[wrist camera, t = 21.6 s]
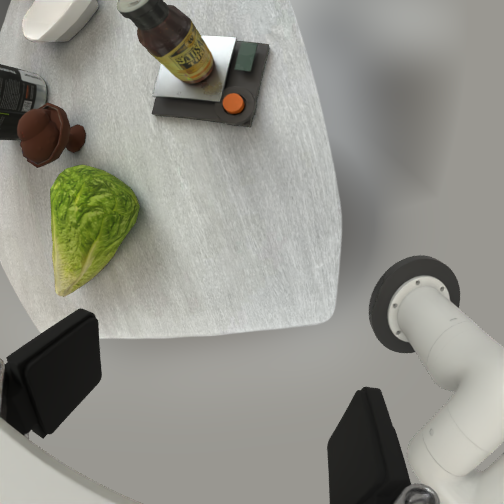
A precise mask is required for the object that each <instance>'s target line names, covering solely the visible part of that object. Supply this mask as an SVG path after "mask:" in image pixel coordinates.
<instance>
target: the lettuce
mask: <svg viewBox="0 0 504 504" xmlns="http://www.w3.org/2000/svg"><path fill="white" fill-rule="evenodd" d="M50 199H51V230H52V241H53V252H52V259H53V267H54V276H55V292H56V293H57V294H58V295H60V296H63V297H64V296H66V295H68V294H70V293H72V292H74V291H75V290H77V289H78V288H80V287H81V286H83V285H84V284H86V283H87V282H89V281H90V280H91V279H92V278H94V277H95V276H96V275H97V274H98V273H99V272H100V271H101V270H102V269H103V268H104V267H105V266H106V265H107V263H108V262H109V261H110V260H111V259H112V258H113V256H114V255H115V253H116V251H117V249H118V247H119V245H120V244H121V243H122V241H123V240H124V238H125V237H126V235H127V234H128V232H129V231H130V230H131V228H132V227H133V226H134V224H135V223H136V220H137V216H138V212H139V208H140V205H139V203H138V200H137V197H136V196H135V194H134V192H133V191H132V189H131V188H130V187H129V186H127V185H126V184H125V183H124V182H122V181H121V180H119V179H118V178H116V177H115V176H113V175H111V174H109V173H108V172H106V171H104V170H100V169H97V168H94V167H90V166H86V165H78V166H74V167H70V168H66V169H65V170H64V171H62V172H61V173H60V174H59V175H58V177H57V179H56V181H55V182H54V184H53V186H52V187H51V189H50Z"/></svg>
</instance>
